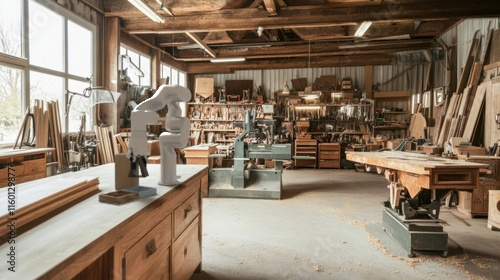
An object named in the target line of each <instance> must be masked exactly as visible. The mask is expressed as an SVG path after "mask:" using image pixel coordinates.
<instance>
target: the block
mask: <svg viewBox="0 0 500 280" xmlns="http://www.w3.org/2000/svg"><path fill="white" fill-rule="evenodd" d="M127 153H128V152H121V153H116V154H115V155H114V191H118V190H122V189H127V188H131V187H135V186H140V178H137V177H136V178H134V177H128V175H129V172H130V169H131V162H130V161H129V159H128V158H127V156H126V154H127ZM138 157H139V156H138ZM133 158H134V157H133ZM135 175H140V167H139V163H138V167H137V171H136V174H135Z"/></svg>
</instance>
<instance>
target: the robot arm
mask: <svg viewBox="0 0 500 280" xmlns="http://www.w3.org/2000/svg"><path fill="white" fill-rule="evenodd" d="M191 99H192V93H191V90H190V89H189V88H188V87H185V86H183V85H179V84H162V85H161V86H159V88H158V89H157V90H156V92H155V93H154V94H153V95H152V97H151V98H148V99H146V100H145V101H142V102H141V103H139V104H138V105H137V106H135V108H134V109H133V110H131V112H130V137H129V139H128V145H127V152H126V153H127V154H126V156H127V158H128V159H129V161H130V162H131V170H136V162H135V160H136V157H138V156H139V155H140V156H143V159H144V163H145V166H146V168H147V169H148V167H147V166H148V164H147V163H148V161H149V160H148V159H149V157H150V155H151V152H150V150H149V143H148V137H147V135H148V132H147V125H149V126H150V125H155V124H157V123H158V122H159V119H160V117H159V114H158V113H157V112H156V111H159V110H162V109H164V108H165V107H166V105H167V109H168V111H167V114H166V115H167V116H166V119H165V123H164V129H165V130H166V132H162V133H161V134H160V135H159V137H158V144H159V150H160V151H159V153H160V180H159V181H157V184H158V185H161V186H173V185H174V186H175V185H178V184H179V183H180V181H179V179H181V178H182V177H181V175H180V174H179V175H177V153H176V151H175V149H185V148H186V147H187V145H188V143H189V138H190V134H191V127H192V123H191V119H190V118H188V117H187V116H182V115H183V111H182V108H181V106H180V105H179V103H188V102H190V101H191ZM167 131H168V132H167ZM133 157H134V158H133Z"/></svg>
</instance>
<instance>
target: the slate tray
mask: <svg viewBox="0 0 500 280" xmlns="http://www.w3.org/2000/svg"><path fill="white" fill-rule="evenodd" d="M122 190H123V191H130V192H137V193H138V199H143V198H145V197H150V196H152V195H153V196H154V195H157V193H158V192H157V190H158V189H157V187H152V186H146V185H145V186H144V185H139V186H135V187H131V188H127V189H122Z"/></svg>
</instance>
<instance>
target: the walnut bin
mask: <svg viewBox="0 0 500 280" xmlns="http://www.w3.org/2000/svg"><path fill="white" fill-rule="evenodd" d="M112 191H113V192H109V193H104V192H103V193H104V194H101V193H99V194H98V202H102V203H108V204H112V205H113V204H114V205H120V204H124V203H127V202H131V201H134V200H138V199H139V198H138V193H137V192H130V191H123V190H112Z"/></svg>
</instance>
